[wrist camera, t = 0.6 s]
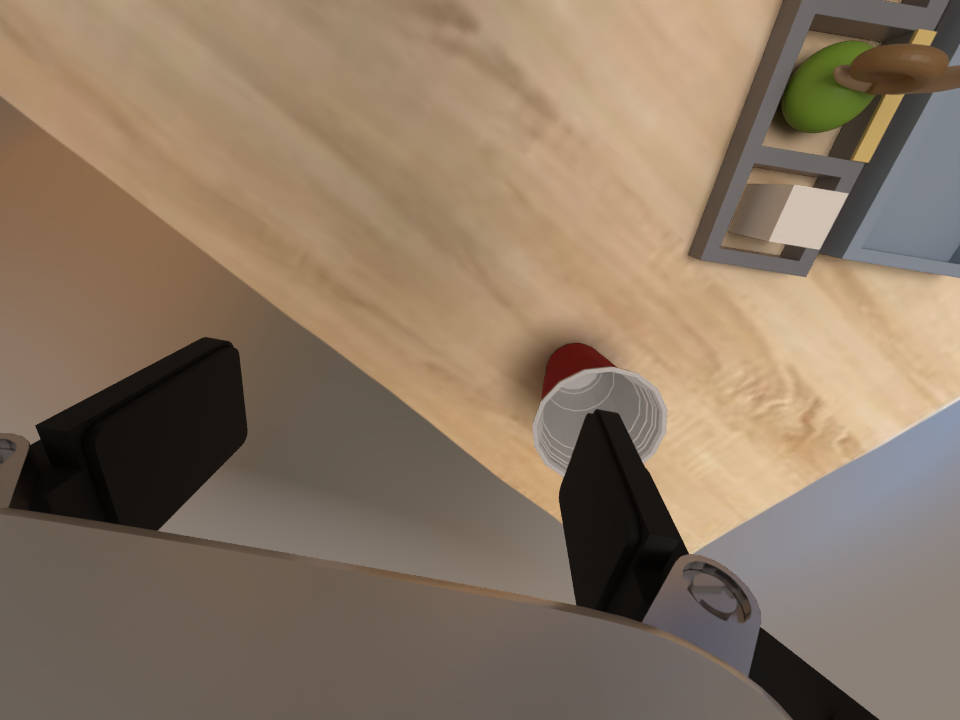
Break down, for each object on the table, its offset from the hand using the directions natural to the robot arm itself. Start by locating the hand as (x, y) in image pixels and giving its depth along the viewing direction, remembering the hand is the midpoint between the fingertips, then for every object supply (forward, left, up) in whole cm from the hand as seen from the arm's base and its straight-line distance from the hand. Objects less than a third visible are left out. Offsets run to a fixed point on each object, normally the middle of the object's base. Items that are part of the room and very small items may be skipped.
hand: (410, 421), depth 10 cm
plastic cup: (+11, +12, -29) cm, 34 cm away
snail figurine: (-15, +24, -29) cm, 41 cm away
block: (-7, +24, -29) cm, 39 cm away
